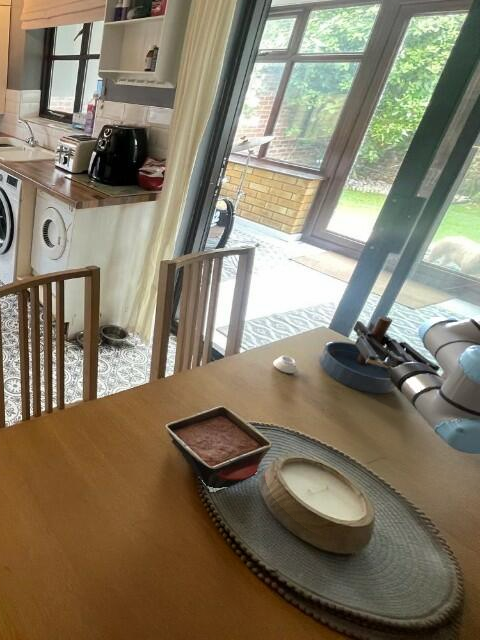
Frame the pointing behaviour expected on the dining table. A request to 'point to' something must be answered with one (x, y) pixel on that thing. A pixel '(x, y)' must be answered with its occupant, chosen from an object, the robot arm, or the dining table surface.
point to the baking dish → (219, 446)
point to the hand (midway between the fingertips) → (363, 326)
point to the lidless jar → (285, 364)
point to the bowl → (354, 369)
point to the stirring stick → (377, 334)
